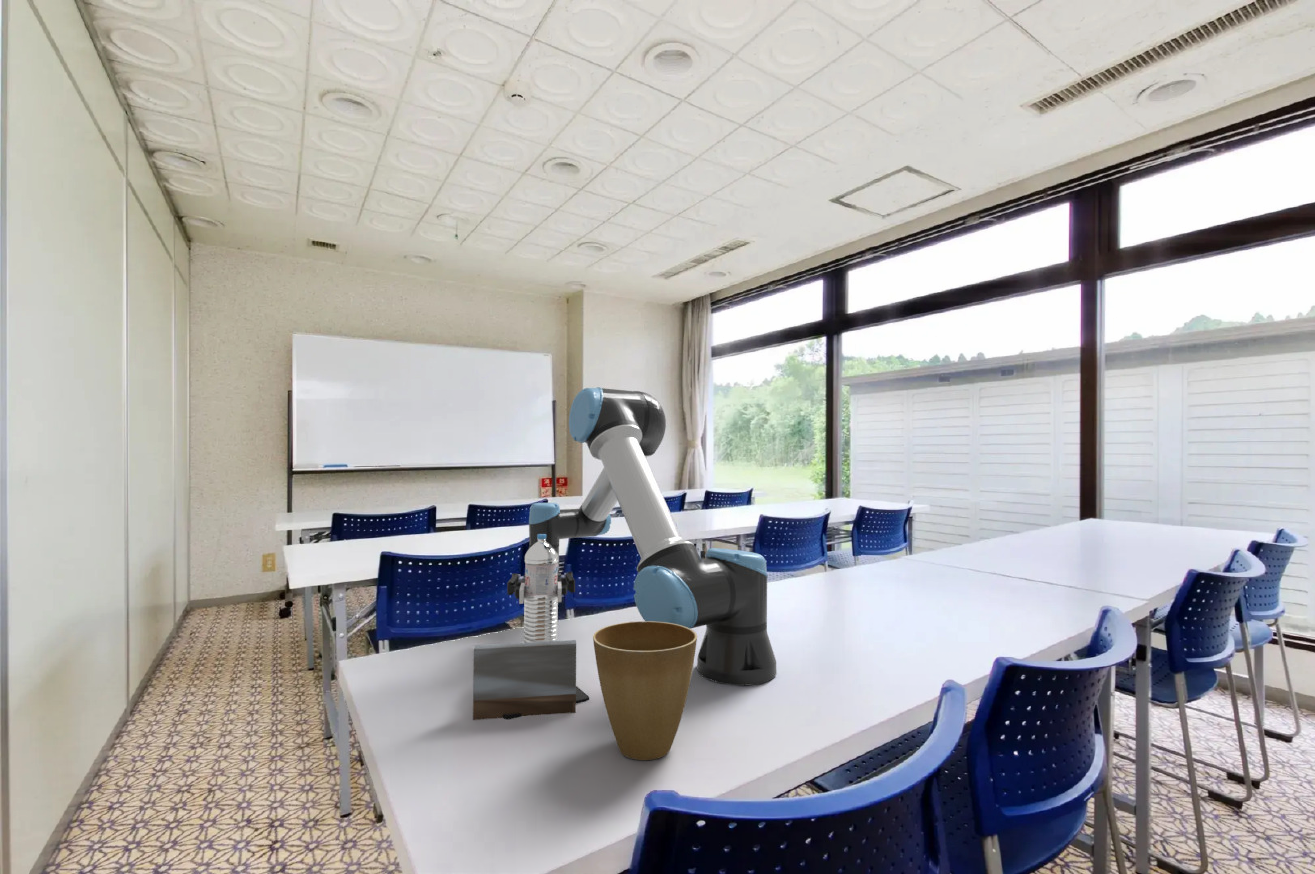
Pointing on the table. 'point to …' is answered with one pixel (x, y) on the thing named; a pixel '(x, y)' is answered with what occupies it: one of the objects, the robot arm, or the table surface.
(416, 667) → the table surface
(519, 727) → the table surface
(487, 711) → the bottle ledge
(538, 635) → the water bottle
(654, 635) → the plant pot
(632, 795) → the table surface
